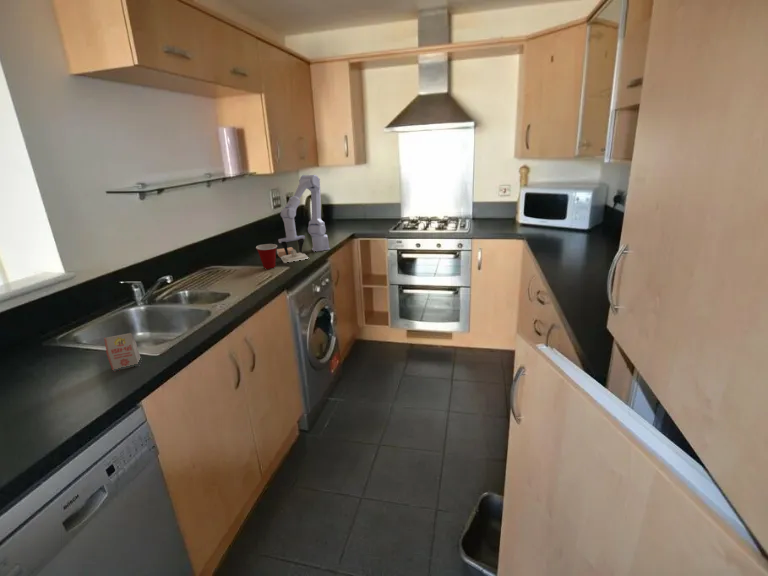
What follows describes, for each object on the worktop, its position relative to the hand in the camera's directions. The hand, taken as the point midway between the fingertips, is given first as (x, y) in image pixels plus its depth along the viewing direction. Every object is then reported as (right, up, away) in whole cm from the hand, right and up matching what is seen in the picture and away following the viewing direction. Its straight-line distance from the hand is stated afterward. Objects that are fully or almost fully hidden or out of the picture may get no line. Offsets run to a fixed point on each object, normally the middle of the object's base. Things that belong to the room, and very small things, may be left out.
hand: (294, 253), depth 227 cm
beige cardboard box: (-25, -43, -108) cm, 119 cm away
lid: (0, -2, +1) cm, 3 cm away
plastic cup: (-9, -9, -15) cm, 19 cm away
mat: (0, -3, +1) cm, 3 cm away
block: (-7, 0, +11) cm, 14 cm away
